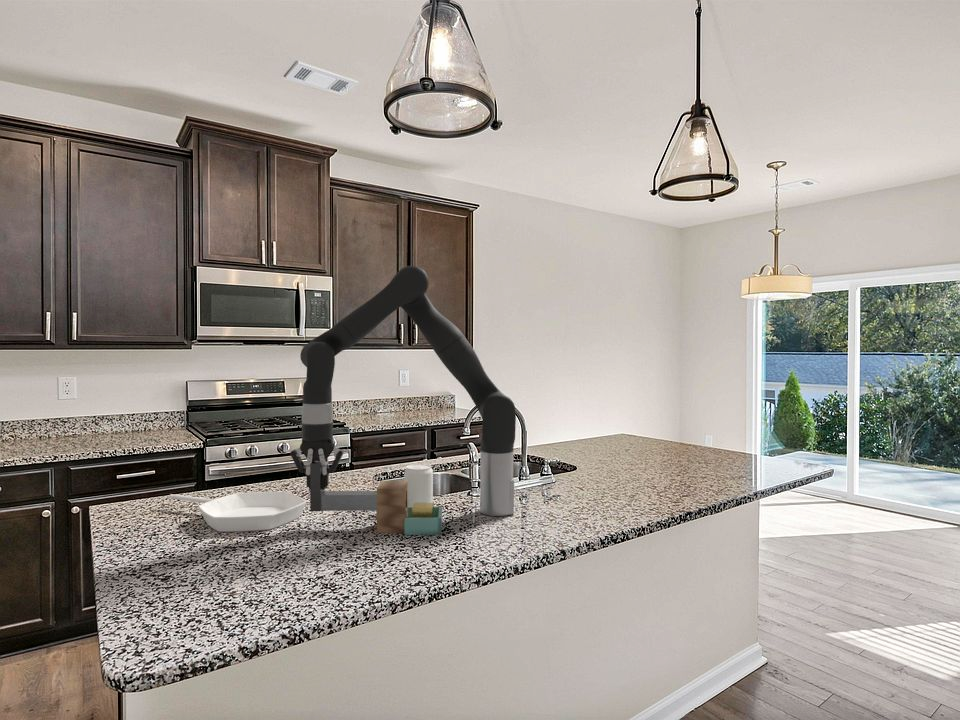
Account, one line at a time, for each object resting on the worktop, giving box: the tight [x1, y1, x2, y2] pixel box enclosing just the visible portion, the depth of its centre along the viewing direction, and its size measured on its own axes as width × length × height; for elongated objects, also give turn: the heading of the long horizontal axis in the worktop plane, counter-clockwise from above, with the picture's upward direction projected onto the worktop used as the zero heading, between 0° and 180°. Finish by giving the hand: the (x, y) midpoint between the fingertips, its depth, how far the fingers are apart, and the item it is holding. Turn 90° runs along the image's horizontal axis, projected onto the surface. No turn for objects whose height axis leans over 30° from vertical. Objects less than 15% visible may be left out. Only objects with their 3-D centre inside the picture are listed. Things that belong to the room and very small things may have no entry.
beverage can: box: [403, 463, 434, 506], centre depth 171 cm, size 8×8×12 cm
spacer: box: [412, 502, 435, 518], centre depth 153 cm, size 5×5×5 cm
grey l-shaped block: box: [309, 461, 377, 512], centre depth 152 cm, size 21×5×12 cm, turn 92°
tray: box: [403, 505, 443, 536], centre depth 153 cm, size 9×11×4 cm
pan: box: [168, 491, 307, 533], centre depth 162 cm, size 28×41×4 cm
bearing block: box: [376, 480, 408, 534], centre depth 152 cm, size 7×8×11 cm
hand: (317, 488), depth 152 cm, fingers closed on grey l-shaped block, 2 cm apart
